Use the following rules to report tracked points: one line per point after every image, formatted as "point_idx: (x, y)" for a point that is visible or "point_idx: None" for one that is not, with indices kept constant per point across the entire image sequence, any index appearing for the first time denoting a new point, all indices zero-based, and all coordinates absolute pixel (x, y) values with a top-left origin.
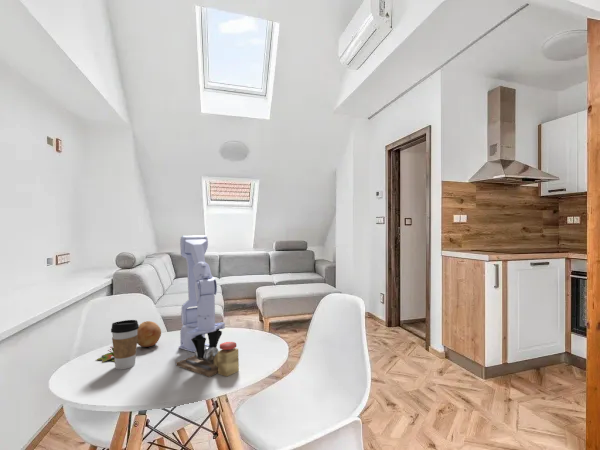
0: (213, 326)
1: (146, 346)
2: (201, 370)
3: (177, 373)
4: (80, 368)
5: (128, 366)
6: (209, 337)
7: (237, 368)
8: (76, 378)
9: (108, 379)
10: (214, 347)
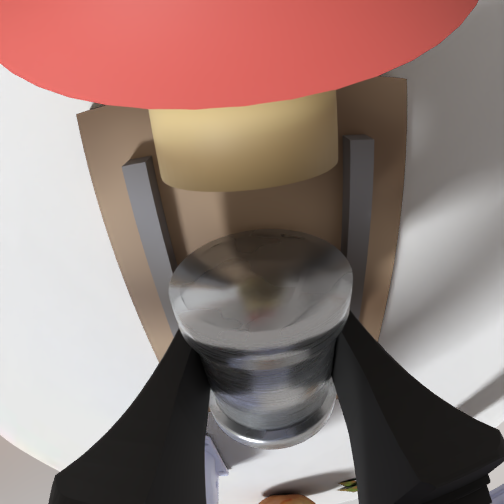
0: None
1: (298, 495)
2: (395, 192)
3: (433, 302)
4: None
5: None
6: (200, 491)
7: None
8: (494, 417)
9: (500, 387)
10: (232, 339)
